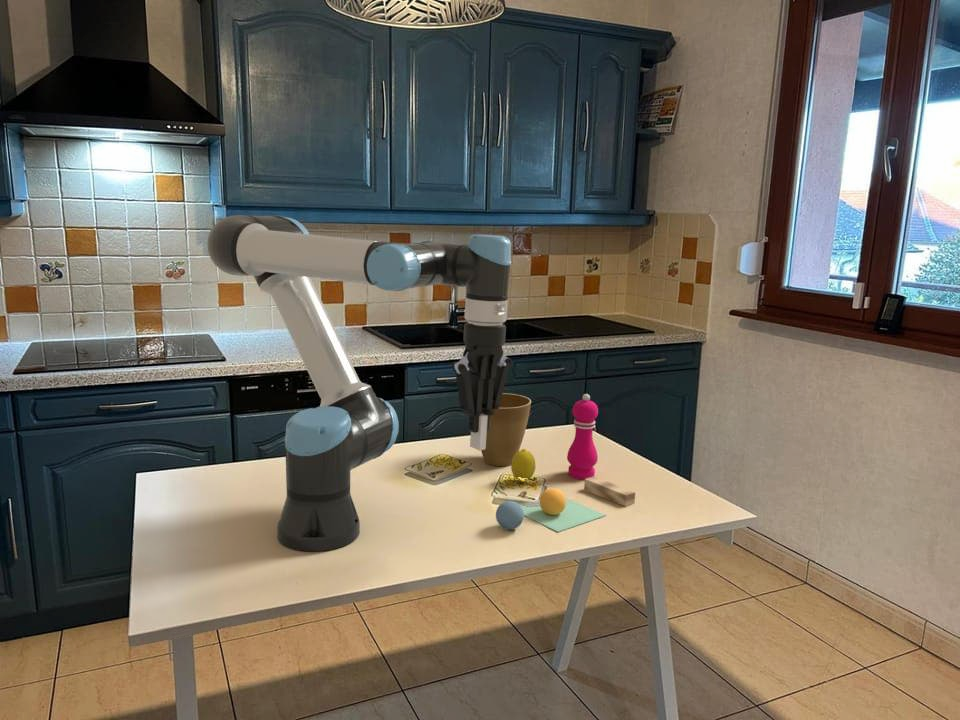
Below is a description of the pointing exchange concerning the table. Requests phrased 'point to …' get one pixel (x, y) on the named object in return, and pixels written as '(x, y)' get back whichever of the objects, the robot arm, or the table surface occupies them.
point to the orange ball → (552, 501)
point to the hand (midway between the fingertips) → (477, 447)
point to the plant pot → (506, 429)
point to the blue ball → (509, 515)
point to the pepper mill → (583, 440)
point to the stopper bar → (609, 491)
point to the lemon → (523, 464)
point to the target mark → (563, 516)
